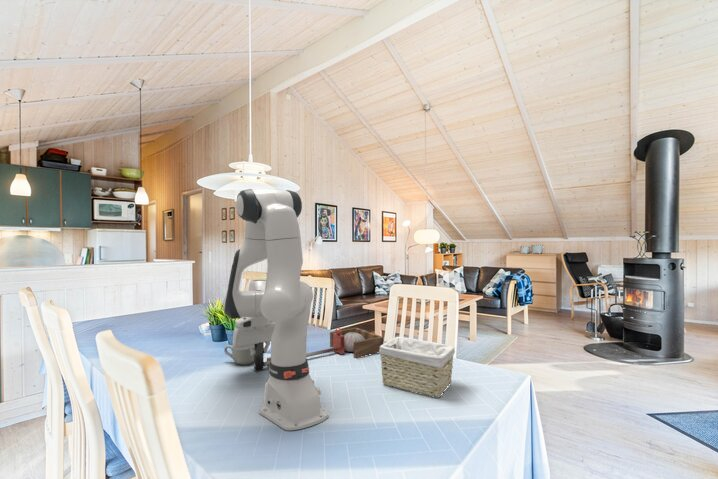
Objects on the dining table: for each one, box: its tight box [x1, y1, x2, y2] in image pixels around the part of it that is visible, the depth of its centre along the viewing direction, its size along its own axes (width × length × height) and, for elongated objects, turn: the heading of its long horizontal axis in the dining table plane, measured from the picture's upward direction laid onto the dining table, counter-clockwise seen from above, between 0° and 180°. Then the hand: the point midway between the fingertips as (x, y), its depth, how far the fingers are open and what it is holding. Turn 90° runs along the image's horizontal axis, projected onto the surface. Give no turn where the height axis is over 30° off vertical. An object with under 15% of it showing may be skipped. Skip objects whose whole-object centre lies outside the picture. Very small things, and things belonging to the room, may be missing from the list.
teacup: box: [223, 344, 254, 366], centre depth 150 cm, size 14×11×8 cm
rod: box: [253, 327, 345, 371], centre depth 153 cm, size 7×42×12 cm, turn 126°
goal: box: [329, 327, 384, 359], centre depth 169 cm, size 22×16×7 cm
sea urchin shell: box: [344, 332, 365, 353], centre depth 169 cm, size 13×14×8 cm
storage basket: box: [378, 336, 456, 398], centre depth 127 cm, size 24×16×15 cm
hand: (258, 353), depth 141 cm, fingers closed on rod, 3 cm apart
